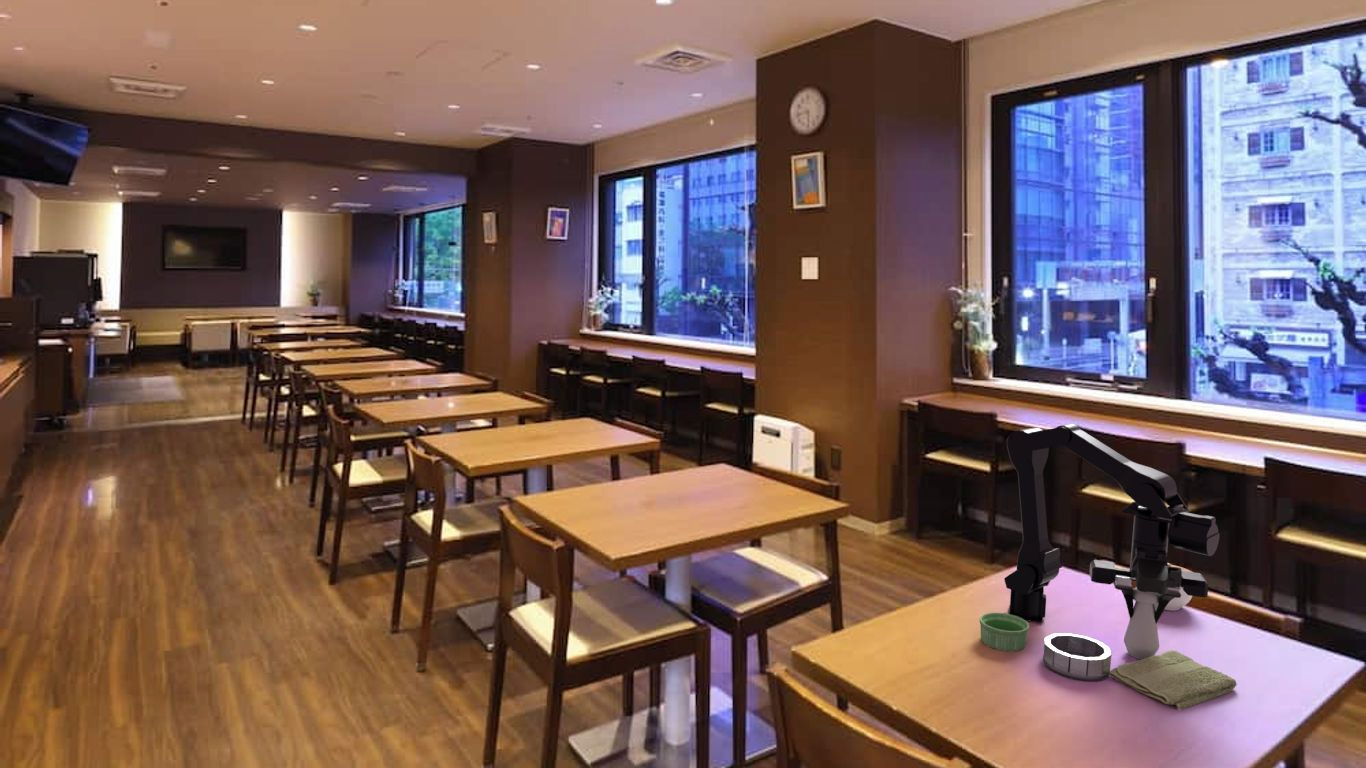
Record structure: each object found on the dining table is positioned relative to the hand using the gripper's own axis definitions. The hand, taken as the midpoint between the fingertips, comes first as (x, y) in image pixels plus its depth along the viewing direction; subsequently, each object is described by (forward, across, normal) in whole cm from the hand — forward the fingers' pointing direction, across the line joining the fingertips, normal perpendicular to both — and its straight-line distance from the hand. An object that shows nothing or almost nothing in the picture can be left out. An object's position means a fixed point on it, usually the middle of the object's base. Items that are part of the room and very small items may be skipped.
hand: (1142, 621), depth 152 cm
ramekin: (+7, -24, -5) cm, 25 cm away
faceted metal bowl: (+6, -12, -10) cm, 17 cm away
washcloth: (+7, +4, -11) cm, 13 cm away
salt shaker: (+7, 0, 0) cm, 7 cm away
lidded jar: (+7, +8, +30) cm, 32 cm away
